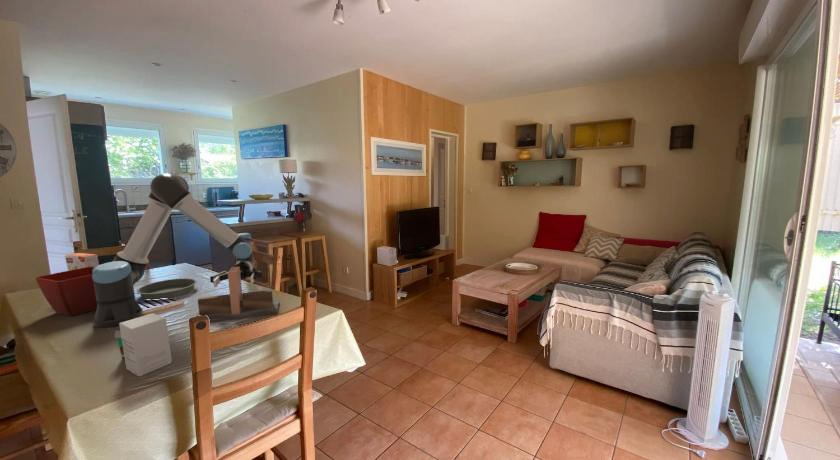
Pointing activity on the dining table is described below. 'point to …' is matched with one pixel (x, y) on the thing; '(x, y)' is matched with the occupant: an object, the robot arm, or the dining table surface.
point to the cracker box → (81, 260)
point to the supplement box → (145, 344)
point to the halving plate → (235, 289)
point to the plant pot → (69, 291)
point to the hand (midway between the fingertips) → (233, 282)
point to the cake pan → (167, 288)
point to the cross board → (244, 313)
